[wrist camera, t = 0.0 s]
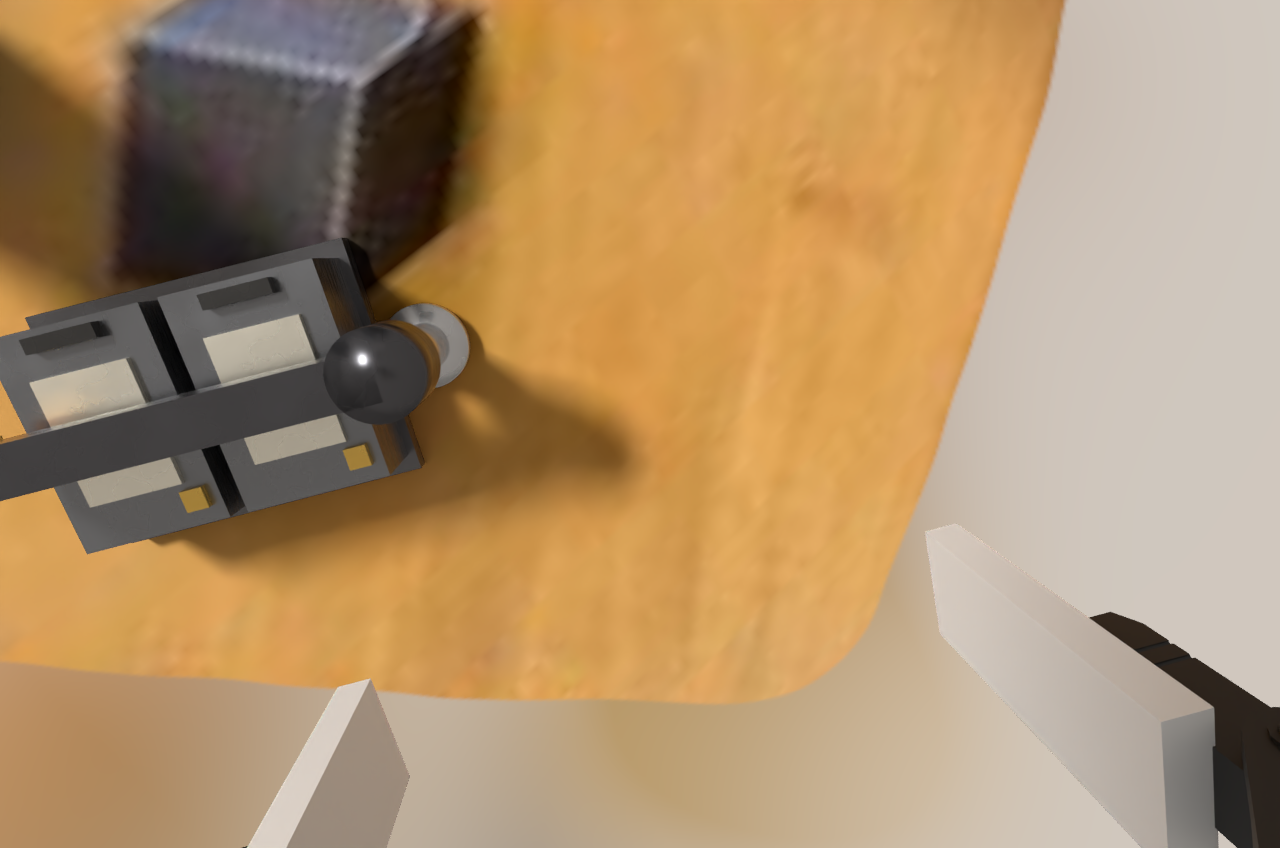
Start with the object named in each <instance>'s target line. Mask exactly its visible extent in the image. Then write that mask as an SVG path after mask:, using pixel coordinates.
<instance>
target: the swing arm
mask: <svg viewBox="0 0 1280 848" xmlns="http://www.w3.org/2000/svg"><path fill="white" fill-rule="evenodd" d="M440 371H441V364H440V357H439V353H438V351H437V348H436V347H435V345H434V343H433V341H432V340H431V339H430V337H429V336H428V335H427V334H426V333H425V332H423V331H422V330H421V329H419V328H418V327H416V326H414V325H412V324H410V323H407V322H404V321H399V320H384V321H379V322H376V323H373V324H370V325H367V326H364V327H361V328H358V329H355V330H352V331H350V332H348V333H346V334H344V335H343V336H341V337H340V338H339V339H338V340H336V341H335V342H334V344H333V345H332V346H331V348H330V349H329V351H328V353H327V355H326V357H323V358H319V359H315V360H311V361H308V362H304V363H300V364H296V365H292V366H288V367H284V368H280V369H276V370H272V371H268V372H265V373H261V374H257V375H253V376H249V377H245V378H241V379H237V380H233V381H229V382H225V383H222V384H218V385H214V386H210V387H206V388H202V389H198V390H194V391H190V392H186V393H182V394H179V395H175V396H171V397H167V398H163V399H159V400H155V401H151V402H147V403H143V404H140V405H136V406H132V407H128V408H124V409H120V410H116V411H112V412H108V413H104V414H100V415H97V416H93V417H89V418H85V419H81V420H77V421H73V422H69V423H65V424H61V425H57V426H54V427H50V428H46V429H42V430H38V431H34V432H30V433H26V434H22V435H18V436H14V437H11V438H7V439H3V438H2V436H0V501H2V500H6V499H10V498H14V497H18V496H22V495H26V494H30V493H33V492H37V491H41V490H45V489H49V488H53V487H57V486H61V485H65V484H68V483H72V482H76V481H80V480H84V479H88V478H92V477H96V476H99V475H103V474H107V473H111V472H115V471H119V470H123V469H127V468H130V467H134V466H138V465H142V464H146V463H150V462H154V461H158V460H162V459H165V458H169V457H173V456H177V455H181V454H185V453H189V452H193V451H196V450H200V449H204V448H208V447H212V446H216V445H220V444H224V443H227V442H231V441H235V440H239V439H243V438H247V437H251V436H255V435H258V434H262V433H266V432H270V431H274V430H278V429H282V428H286V427H290V426H293V425H297V424H301V423H305V422H309V421H313V420H317V419H321V418H324V417H328V416H332V415H336V414H340V413H345V414H346V415H348V416H349V417H351V418H353V419H355V420H357V421H360V422H363V423H367V424H374V425H382V424H389V423H393V422H396V421H398V420H400V419H402V418H404V417H405V416H407V415H408V414H409V413H411V412H412V411H413V410H414V409H415V408H416V407H417V406H418V405H419V404H420V403H421V402H423V401H424V400H425V399H426V398H427V397H428V396H429V395H430V394H431V393H432V392H433V390H434V388H435V387H436V385H437V383H438V380H439V377H440Z"/></svg>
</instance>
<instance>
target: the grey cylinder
mask: <svg viewBox="0 0 1280 848" xmlns="http://www.w3.org/2000/svg"><path fill="white" fill-rule="evenodd" d="M390 320H399V321H404V322H407V323H410V324H412V325H414V326H416V327H418V328H419V329H421V330H422V331H423V332H425V333H426V334H427V335H428V336H429V337H430V339H431V340H432V341H433V343H434V345H435V347H436V348H437V351H438V353H439V357H440V364H441V371H440V377H439V380H438V383H437V385H436V387H435V388H437V387H441V386H444V385H446V384H448V383H450V382H451V381H453V380H454V379H455V378H456V377H457V376H458V375H459V374H460V373H461V372H462V371H463V369H464V368H465V366H466V364H467V362H468V360H469V356H470V348H471V345H470V338H469V334H468V332H467V329H466V327H465V325H464V324H463V322H462V321H461V320H460V319H459V318H458V316H456V315H455V314H454V313H453V312H452V311H450V310H448V309H447V308H445V307H443V306H440V305H437V304H432V303H419V304H414V305H411V306H408V307H405V308H403V309H401V310H400V311H398V312H397V313H396V314H395V315H393V316H392V318H391V319H390Z"/></svg>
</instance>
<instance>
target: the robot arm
mask: <svg viewBox="0 0 1280 848" xmlns="http://www.w3.org/2000/svg"><path fill="white" fill-rule="evenodd" d="M925 535H926V542H927V549H928V555H929V563H930V570H931V576H932V583H933V590H934V596H935V603H936V610H937V617H938V624H939V631H940V635H941V636H942V637H943V638H944V639H945V640H946V641H947V642H948V643H949V644H950V645H951V646H952V647H953V648H954V649H955V650H956V652H957V653H958V654H959V655H960V656H961V657H962V658H963V659H964V660H965V661H966V662H967V663H968V664H969V665H970V666H971V667H972V669H973V670H974V671H975V672H976V673H977V674H978V675H979V676H980V677H981V678H982V679H983V680H984V681H985V682H986V683H987V684H988V685H989V687H991V689H992V690H993V691H994V692H995V693H996V694H997V695H998V696H999V697H1000V698H1001V699H1002V700H1003V701H1004V702H1005V703H1006V704H1007V706H1008V707H1009V708H1010V709H1011V710H1012V711H1013V712H1014V713H1015V714H1016V715H1017V716H1018V717H1019V718H1020V719H1021V720H1022V721H1023V723H1024V724H1025V725H1026V726H1027V727H1028V728H1029V729H1030V730H1031V731H1032V732H1033V733H1034V734H1035V735H1036V736H1037V737H1038V738H1039V739H1040V740H1041V742H1042V743H1043V744H1044V745H1045V746H1046V747H1047V748H1048V749H1049V750H1050V751H1051V752H1052V753H1053V754H1054V755H1055V756H1056V757H1057V759H1058V760H1059V761H1060V762H1061V763H1062V764H1063V765H1064V766H1065V767H1066V768H1067V769H1068V770H1069V771H1070V772H1071V773H1072V774H1073V776H1074V777H1075V778H1076V779H1077V780H1078V781H1079V782H1080V783H1081V784H1082V785H1083V786H1084V787H1085V788H1086V789H1087V790H1088V791H1089V792H1090V794H1091V795H1092V796H1093V797H1094V798H1095V799H1096V800H1097V801H1098V802H1099V803H1100V804H1101V805H1102V806H1103V807H1104V808H1105V809H1106V810H1107V812H1109V814H1110V815H1111V816H1112V817H1113V818H1114V819H1115V820H1116V821H1117V822H1118V823H1119V824H1120V825H1121V826H1122V827H1123V828H1124V830H1125V831H1126V832H1127V833H1128V834H1129V835H1130V836H1131V837H1132V838H1133V839H1134V840H1135V841H1136V842H1137V843H1138V844H1139V845H1140V846H1141V848H1218V831H1219V832H1220V833H1222V834H1223V835H1224V836H1225V837H1226V838H1227V839H1228V840H1229V841H1230V842H1231V843H1233V844H1234V845H1235V846H1236V847H1237V848H1280V707H1272V708H1271V707H1269V706H1268V705H1266V704H1265V703H1263V702H1262V701H1260V700H1259V699H1257V698H1255V697H1254V696H1253V695H1251V694H1249V693H1248V692H1246V691H1245V690H1243V689H1242V688H1240V687H1239V686H1237V685H1236V684H1234V683H1233V682H1231V681H1230V680H1228V679H1227V678H1225V677H1223V676H1222V675H1221V674H1219V673H1218V672H1216V671H1214V670H1213V669H1211V668H1210V667H1208V666H1207V665H1205V664H1204V663H1202V662H1201V661H1199V660H1198V659H1196V658H1191V657H1190V655H1189V653H1187V652H1186V651H1184V650H1183V649H1181V648H1179V647H1178V646H1176V645H1175V644H1170V643H1169V641H1168V640H1167V639H1166V638H1164V637H1163V636H1161V635H1160V634H1158V633H1157V632H1155V631H1153V630H1152V629H1151V628H1149V627H1147V626H1146V625H1144V624H1143V623H1140V622H1137V621H1135V620H1132V619H1129V618H1126V617H1123V616H1120V615H1118V614H1115V613H1112V612H1108V613H1105V614H1101V615H1097V616H1094V617H1090V618H1089V617H1087V616H1086V615H1084V614H1083V613H1082V612H1080V611H1079V610H1077V609H1076V608H1074V607H1073V606H1072V605H1070V604H1069V603H1068V602H1066V601H1065V600H1063V599H1062V598H1060V597H1059V596H1058V595H1056V594H1055V593H1054V592H1052V591H1051V590H1049V589H1048V588H1047V587H1045V586H1044V585H1042V584H1041V583H1039V582H1038V581H1037V580H1035V579H1034V578H1033V577H1031V576H1030V575H1028V574H1027V573H1026V572H1024V571H1023V570H1021V569H1020V568H1019V567H1017V566H1016V565H1014V564H1013V563H1012V562H1010V561H1009V560H1007V559H1006V558H1005V557H1003V556H1002V555H1000V554H999V553H998V552H996V551H995V550H994V549H992V548H991V547H989V546H988V545H987V544H985V543H984V542H982V541H981V540H980V539H978V538H977V537H975V536H974V535H973V534H971V533H970V532H968V531H967V530H966V529H964V528H963V527H961V526H960V525H959V524H957V523H955V524H951V525H948V526H944V527H940V528H936V529H932V530H929V531H925ZM409 778H410V775H409V773H408V770H407V768H406V765H405V763H404V761H403V758H402V755H401V753H400V751H399V748H398V745H397V743H396V740H395V738H394V736H393V733H392V731H391V728H390V726H389V723H388V721H387V718H386V716H385V713H384V711H383V708H382V706H381V703H380V701H379V698H378V696H377V693H376V691H375V688H374V686H373V683H372V681H371V678H370V679H367V680H363V681H359V682H355V683H352V684H348V685H344V686H340V687H338V688H337V689H336V691H335V693H334V695H333V697H332V698H331V700H330V702H329V704H328V705H327V707H326V709H325V711H324V712H323V714H322V716H321V718H320V720H319V721H318V723H317V725H316V727H315V728H314V730H313V732H312V734H311V735H310V737H309V739H308V741H307V743H306V744H305V746H304V748H303V750H302V751H301V753H300V755H299V757H298V759H297V760H296V762H295V764H294V765H293V767H292V769H291V771H290V773H289V774H288V776H287V778H286V780H285V781H284V783H283V785H282V787H281V788H280V790H279V792H278V794H277V796H276V798H275V799H274V801H273V803H272V804H271V806H270V808H269V810H268V812H267V813H266V815H265V817H264V819H263V821H262V822H261V824H260V826H259V827H258V829H257V831H256V833H255V835H254V836H253V838H252V840H251V842H250V844H249V845H248V846H246V847H243V848H386V847H387V844H388V841H389V838H390V835H391V832H392V829H393V826H394V823H395V820H396V817H397V814H398V811H399V808H400V805H401V802H402V799H403V796H404V792H405V790H406V787H407V784H408V781H409Z"/></svg>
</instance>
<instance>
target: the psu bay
mask: <svg viewBox="0 0 1280 848" xmlns="http://www.w3.org/2000/svg"><path fill="white" fill-rule="evenodd" d="M25 319H26V321H27V323H28V325H29V327H30V330H26V331H22V332H18V333H14V334H10V335H6V336H2V337H0V381H1V383H2V385H3V387H4V389H5V391H6V393H7V395H8V397H9V399H10V401H11V403H12V405H13V407H14V409H15V411H16V413H17V415H18V417H19V419H20V421H21V423H22V425H23V427H24V429H25V431H26V433H30V432H34V431H38V430H42V429H46V428H50V427H54V426H57V425H61V424H65V423H69V422H73V421H77V420H81V419H85V418H89V417H93V416H97V415H100V414H104V413H108V412H112V411H116V410H120V409H124V408H128V407H132V406H136V405H140V404H143V403H147V402H151V401H155V400H159V399H163V398H167V397H171V396H175V395H179V394H182V393H186V392H190V391H194V390H198V389H202V388H206V387H210V386H214V385H218V384H222V383H225V382H229V381H233V380H237V379H241V378H245V377H249V376H253V375H257V374H261V373H265V372H268V371H272V370H276V369H280V368H284V367H288V366H292V365H296V364H300V363H304V362H308V361H311V360H315V359H319V358H323V357H326V355H327V353H328V351H329V349H330V348H331V346H332V345H333V344H334V342H335V341H336V340H338V339H339V338H340V337H341V336H343V335H344V334H346V333H348V332H350V331H352V330H355V329H358V328H361V327H364V326H367V325H370V324H373V323H376V320H375V317H374V314H373V311H372V308H371V306H370V303H369V300H368V297H367V294H366V291H365V288H364V285H363V282H362V279H361V277H360V274H359V271H358V268H357V265H356V262H355V259H354V256H353V253H352V251H351V248H350V245H349V242H348V239H347V238H339V239H335V240H331V241H327V242H323V243H319V244H315V245H311V246H307V247H303V248H299V249H295V250H291V251H287V252H283V253H279V254H275V255H271V256H267V257H263V258H260V259H256V260H252V261H248V262H244V263H240V264H236V265H232V266H228V267H224V268H220V269H216V270H212V271H208V272H204V273H200V274H196V275H192V276H188V277H184V278H180V279H176V280H172V281H168V282H164V283H161V284H157V285H153V286H149V287H145V288H141V289H137V290H133V291H129V292H125V293H121V294H117V295H113V296H109V297H105V298H101V299H97V300H93V301H89V302H85V303H81V304H77V305H73V306H69V307H65V308H62V309H58V310H54V311H50V312H46V313H42V314H38V315H34V316H30V317H26V318H25ZM424 464H425V462H424V459H423V456H422V453H421V450H420V447H419V444H418V442H417V439H416V436H415V433H414V430H413V427H412V424H411V421H410V418H409V416H408V415H407V416H405V417H404V418H402V419H400V420H398V421H396V422H393V423H389V424H382V425H374V424H367V423H363V422H360V421H357V420H355V419H353V418H351V417H349V416H348V415H346V414H345V413H340V414H336V415H332V416H328V417H324V418H321V419H317V420H313V421H309V422H305V423H301V424H297V425H293V426H290V427H286V428H282V429H278V430H274V431H270V432H266V433H262V434H258V435H255V436H251V437H247V438H243V439H239V440H235V441H231V442H227V443H224V444H220V445H216V446H212V447H208V448H204V449H200V450H196V451H193V452H189V453H185V454H181V455H177V456H173V457H169V458H165V459H162V460H158V461H154V462H150V463H146V464H142V465H138V466H134V467H130V468H127V469H123V470H119V471H115V472H111V473H107V474H103V475H99V476H96V477H92V478H88V479H84V480H80V481H76V482H72V483H68V484H65V485H61V486H57V487H54V489H55V491H56V493H57V495H58V497H59V499H60V501H61V503H62V505H63V507H64V509H65V511H66V513H67V515H68V517H69V519H70V521H71V523H72V525H73V527H74V529H75V531H76V533H77V535H78V537H79V539H80V541H81V543H82V545H83V547H84V549H85V551H86V553H87V554H90V553H94V552H97V551H101V550H105V549H109V548H113V547H117V546H121V545H124V544H128V543H134V542H138V541H142V540H146V539H150V538H153V537H157V536H161V535H165V534H169V533H173V532H177V531H180V530H184V529H188V528H192V527H196V526H200V525H203V524H207V523H211V522H215V521H219V520H223V519H227V518H230V517H234V516H238V515H242V514H246V513H250V512H253V511H257V510H261V509H265V508H269V507H273V506H277V505H280V504H284V503H288V502H292V501H296V500H300V499H303V498H307V497H311V496H315V495H319V494H323V493H327V492H330V491H334V490H338V489H342V488H346V487H350V486H353V485H357V484H361V483H365V482H369V481H373V480H377V479H380V478H384V477H388V476H392V475H396V474H400V473H403V472H407V471H411V470H415V469H419V468H422V466H423V465H424Z"/></svg>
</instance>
